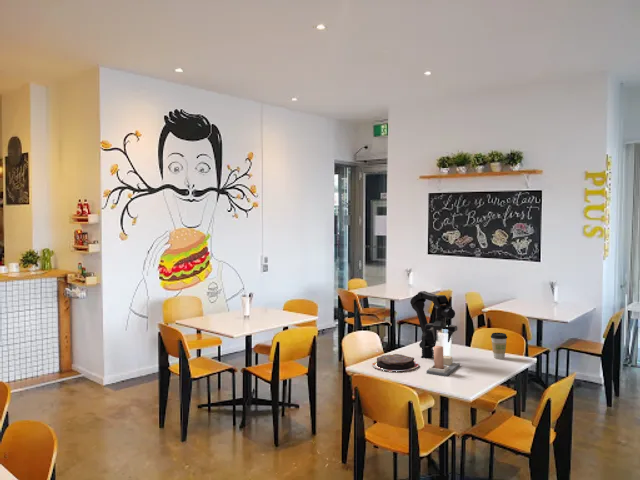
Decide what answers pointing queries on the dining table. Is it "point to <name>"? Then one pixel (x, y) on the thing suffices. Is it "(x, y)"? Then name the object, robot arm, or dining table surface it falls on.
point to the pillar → (438, 357)
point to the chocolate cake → (395, 363)
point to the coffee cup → (499, 345)
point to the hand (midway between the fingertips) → (441, 341)
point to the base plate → (448, 367)
